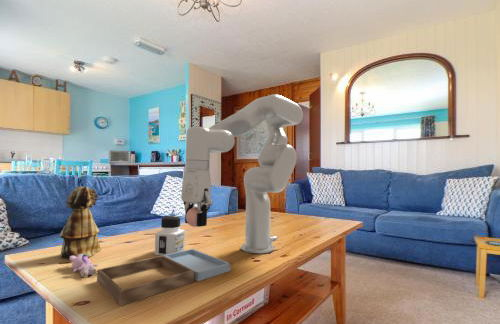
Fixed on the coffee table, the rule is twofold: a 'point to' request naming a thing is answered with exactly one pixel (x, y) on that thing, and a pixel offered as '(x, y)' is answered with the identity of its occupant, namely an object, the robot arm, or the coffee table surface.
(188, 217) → the ball
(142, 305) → the coffee table surface
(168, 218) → the container
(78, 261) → the pink plastic figure
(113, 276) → the wooden box frame
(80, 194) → the plaid cloth bag
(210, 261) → the tray
